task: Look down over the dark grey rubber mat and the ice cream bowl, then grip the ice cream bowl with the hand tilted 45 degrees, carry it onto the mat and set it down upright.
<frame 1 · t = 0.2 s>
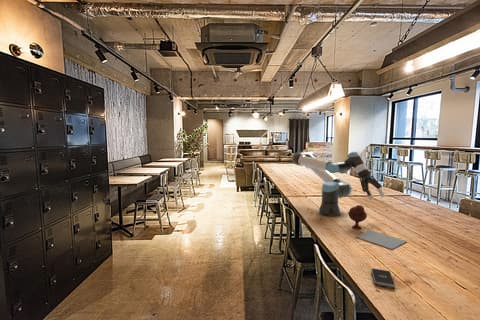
hand: (378, 198, 174), 16 cm above the table, tool tilted 35°, fingers open, 13 cm apart
external hard drive: (382, 281, 103), on the table
grey mat: (380, 239, 143), on the table
ice cream bowl: (356, 228, 162), on the table
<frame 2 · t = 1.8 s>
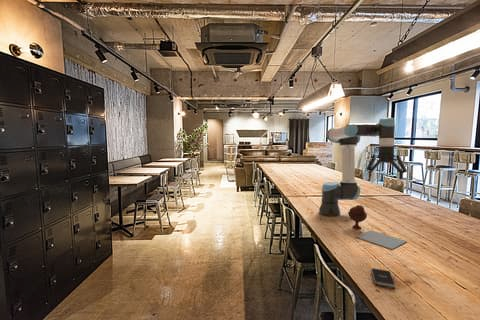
hand: (385, 183, 143), 31 cm above the table, tool pointing down, fingers open, 13 cm apart
nothing on the table moved.
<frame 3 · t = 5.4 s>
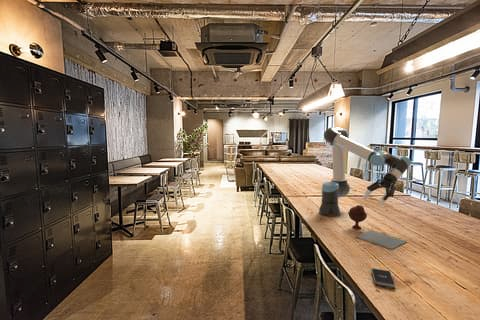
hand: (371, 200, 163), 17 cm above the table, tool tilted 45°, fingers open, 13 cm apart
nothing on the table moved.
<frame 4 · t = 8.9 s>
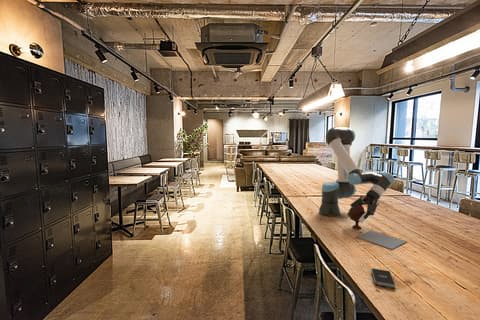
hand: (353, 218, 160), 6 cm above the table, tool tilted 45°, fingers closed on ice cream bowl, 11 cm apart
ice cream bowl: (356, 228, 162), on the table, touching gripper
everything else where it was.
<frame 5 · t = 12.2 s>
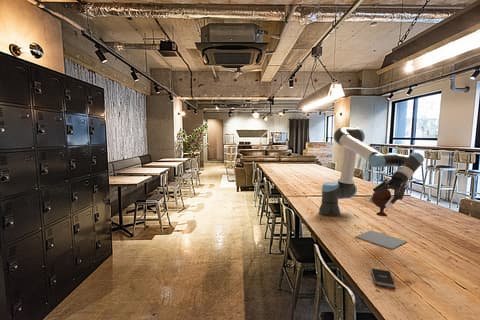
hand: (377, 204, 141), 20 cm above the table, tool tilted 45°, fingers closed on ice cream bowl, 11 cm apart
ice cream bowl: (381, 215, 142), point 14 cm above the table, touching gripper
everything else where it was.
when the fingers open (8 cm above the table, at t = 15.7 s): ice cream bowl drops 1 cm, resting on grey mat.
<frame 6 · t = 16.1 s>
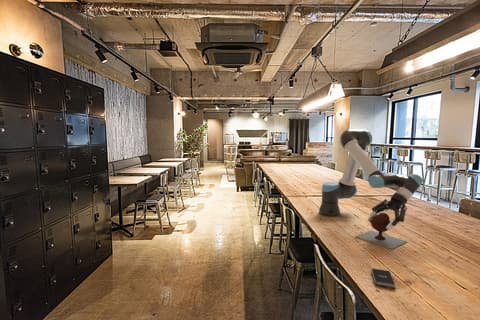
hand: (377, 225, 142), 9 cm above the table, tool tilted 45°, fingers open, 13 cm apart
ice cream bowl: (380, 238, 144), resting on grey mat
everything else where it was.
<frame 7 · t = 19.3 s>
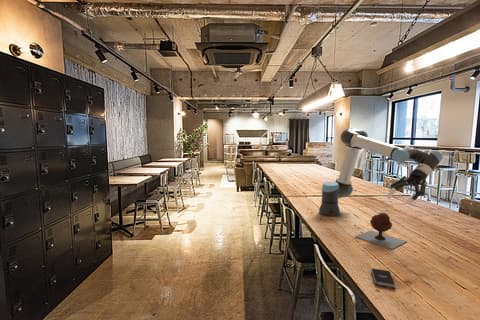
hand: (397, 200, 144), 22 cm above the table, tool tilted 45°, fingers open, 13 cm apart
nothing on the table moved.
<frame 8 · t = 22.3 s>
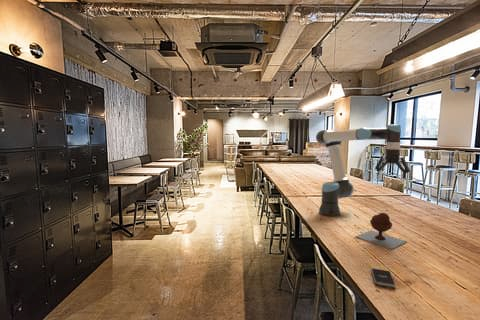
hand: (391, 181, 164), 29 cm above the table, tool pointing down, fingers open, 13 cm apart
nothing on the table moved.
at the end: ice cream bowl inside the target area on the grey mat (0.4 cm from its centre), point 0.4 cm above the grey mat's base; ice cream bowl tilted 0°; the gripper is holding nothing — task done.
